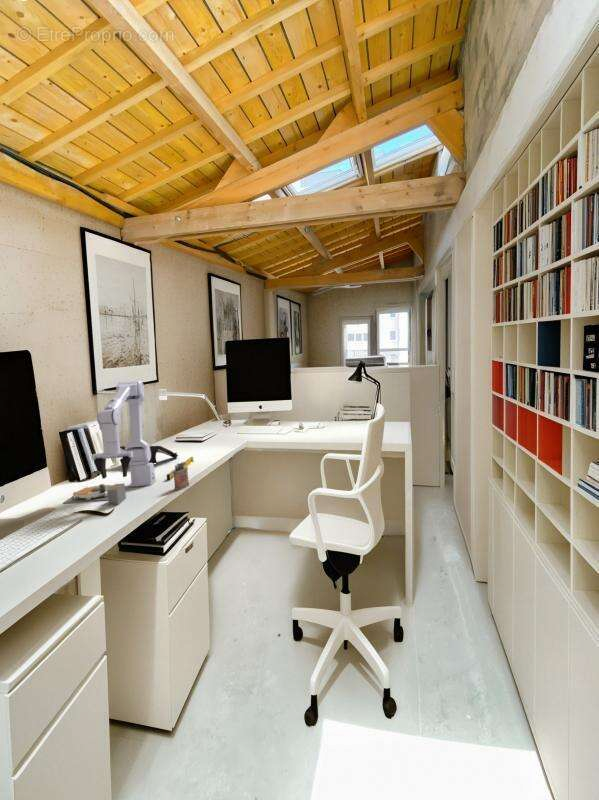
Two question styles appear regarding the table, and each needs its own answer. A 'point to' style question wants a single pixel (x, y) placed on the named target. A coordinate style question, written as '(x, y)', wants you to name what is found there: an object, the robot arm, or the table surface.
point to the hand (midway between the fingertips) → (114, 477)
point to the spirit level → (171, 475)
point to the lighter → (181, 476)
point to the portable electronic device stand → (154, 450)
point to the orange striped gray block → (116, 494)
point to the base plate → (72, 500)
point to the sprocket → (92, 492)
